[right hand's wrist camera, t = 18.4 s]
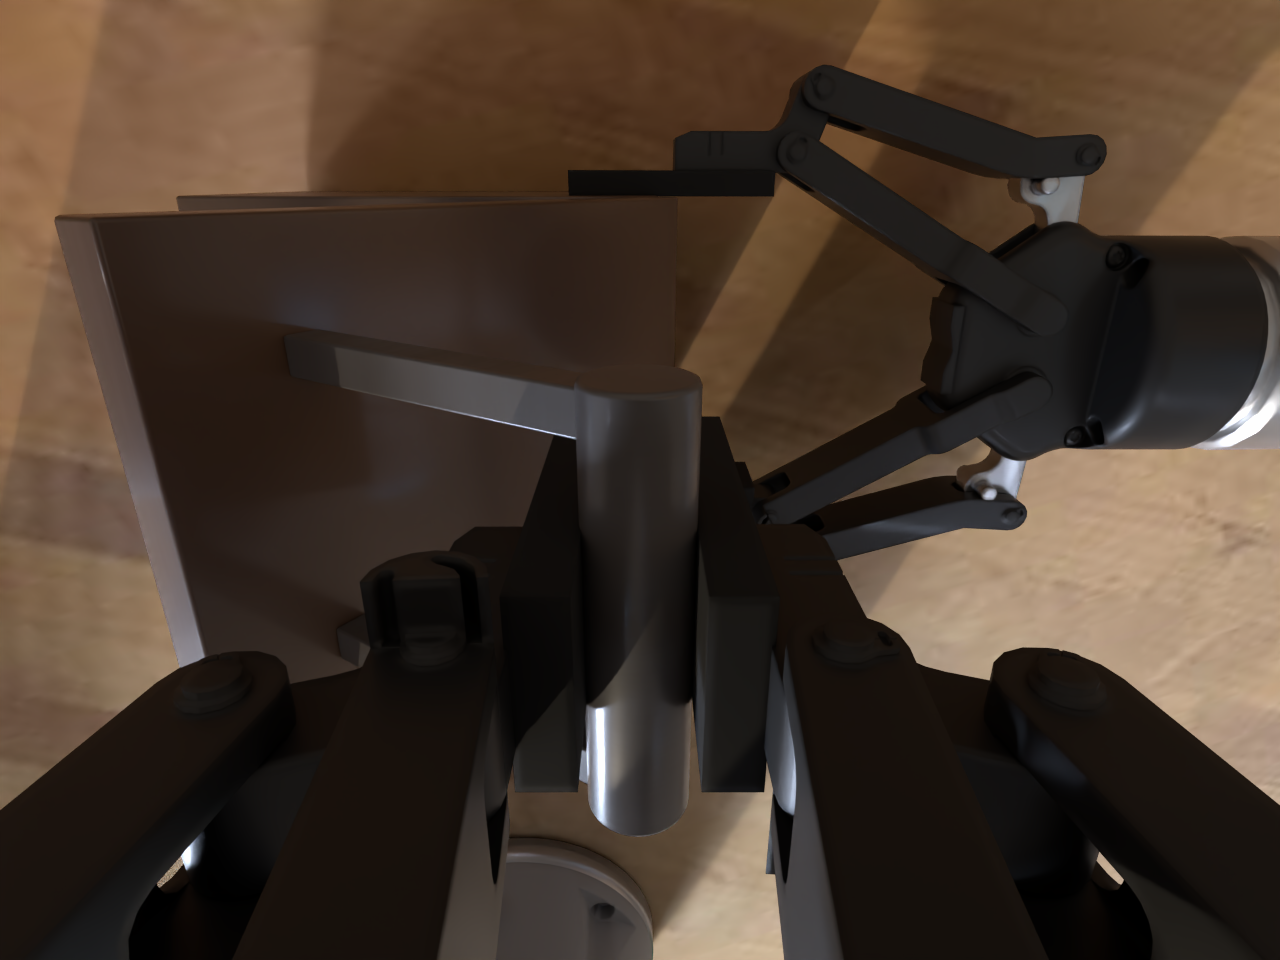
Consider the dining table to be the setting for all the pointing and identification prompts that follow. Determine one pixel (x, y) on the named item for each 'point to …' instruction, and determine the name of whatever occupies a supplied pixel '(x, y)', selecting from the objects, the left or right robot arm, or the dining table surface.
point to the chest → (360, 199)
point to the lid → (409, 430)
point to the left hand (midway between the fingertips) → (576, 344)
